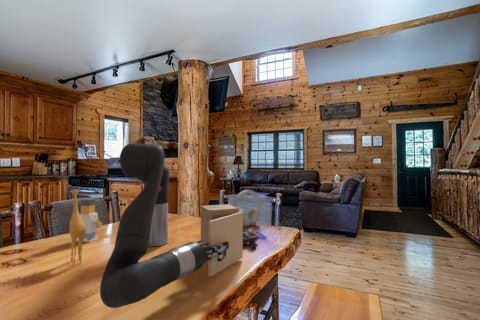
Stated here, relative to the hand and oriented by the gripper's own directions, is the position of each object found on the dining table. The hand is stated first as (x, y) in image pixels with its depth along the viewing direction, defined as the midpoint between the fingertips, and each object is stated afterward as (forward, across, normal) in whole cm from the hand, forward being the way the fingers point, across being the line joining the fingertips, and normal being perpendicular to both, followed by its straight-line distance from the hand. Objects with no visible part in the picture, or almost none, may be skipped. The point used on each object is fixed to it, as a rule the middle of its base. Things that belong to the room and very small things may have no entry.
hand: (221, 243), depth 81 cm
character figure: (-3, +70, +9) cm, 70 cm away
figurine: (+33, +14, +9) cm, 37 cm away
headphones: (+58, +24, +9) cm, 63 cm away
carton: (+10, +8, +9) cm, 16 cm away
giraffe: (-19, +49, +9) cm, 54 cm away
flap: (+3, 0, +8) cm, 9 cm away
